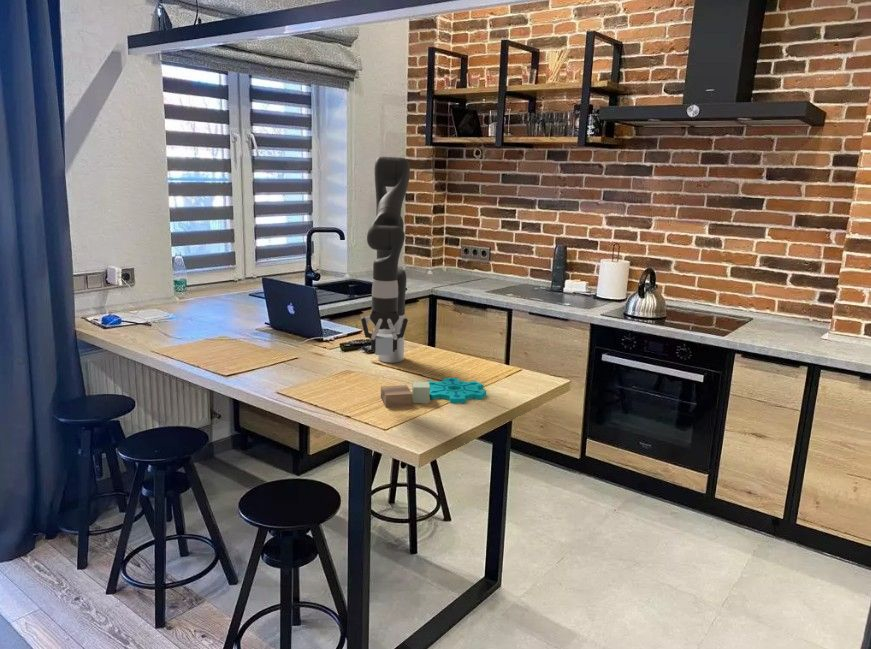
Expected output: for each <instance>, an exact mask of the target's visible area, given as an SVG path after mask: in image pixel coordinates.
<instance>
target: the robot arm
mask: <svg viewBox="0 0 871 649" xmlns="http://www.w3.org/2000/svg"><path fill="white" fill-rule="evenodd" d="M410 175H411V167H410V161H409V160H408V159H407V158H406V157H405V158H404V157H400V156H399V157H397V156H396V157H395V156H378V157H377V158H376V160H375V162H374V185H375V186H374V187H375V202H376V213H375V219H374V221H373V222H372V224H370V227H369V228H368V231H367V234H366V243H367V245H368V247H369V248H370V249H372V250H374V251H376V258H375V259H374V261H373V264H372V267H373V268H372V269H373V270H372V272H373V273H372V286H371V313H370V314H369V315H367V316H362V317H361V318H360V319H361V320H360V321H361V324H362V330H363V334H364V337H365V338H367V339H370V348H371V350H372V351H373V353H375V349H376V339H375V337H376V335H377V334H392V336H393V355H377V356H378V361H380V362H381V363H382V362H383V363H391V364H392V363H393V364H395V363H400V362H404V360H405V357H404V356H405V355H404V354H405V333H406V329H407V325H408V321H409V320H408V317H407V316H406V315H405V314H406V290H407V273H406V271H405V269H398V268H399V259H400V256H401V252H402V249H403V246H404V242H405V239H406V236H405V230H404V220H403V219H404V218H403V217H402V207H403V202H404V199H405V197H406V193H407V190H408V186H409V182H410V178H411V177H410ZM386 187H388V188H391V189H390V190H389V191H387V188H386ZM370 321H371V322H372V323H373V326H374V327H373V329H372V332H369V327H368V324H369V323H370Z"/></svg>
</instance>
